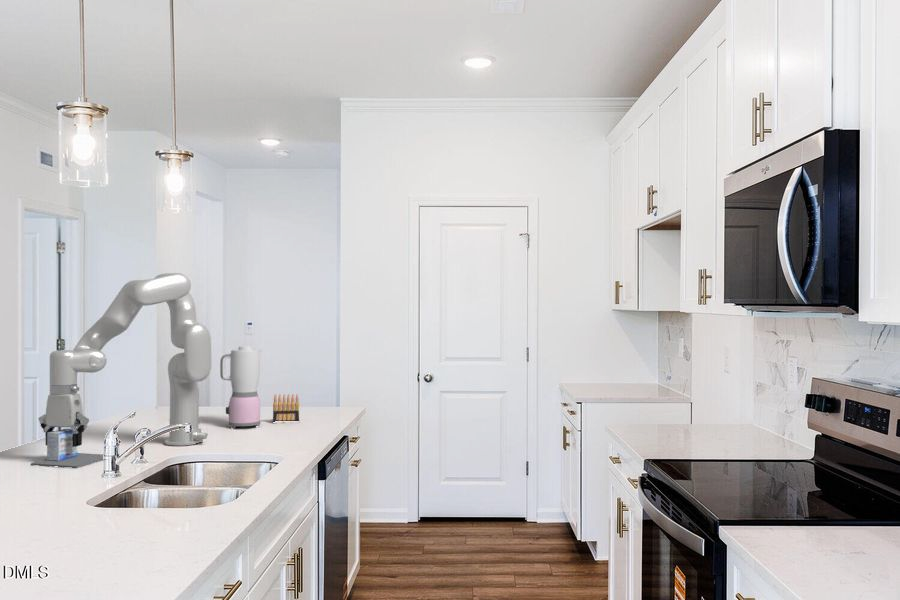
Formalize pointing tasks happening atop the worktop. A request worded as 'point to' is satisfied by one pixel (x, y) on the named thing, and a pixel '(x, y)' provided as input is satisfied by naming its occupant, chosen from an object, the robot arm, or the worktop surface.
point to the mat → (72, 461)
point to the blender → (243, 386)
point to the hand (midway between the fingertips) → (63, 445)
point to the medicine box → (60, 445)
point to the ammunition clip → (286, 409)
